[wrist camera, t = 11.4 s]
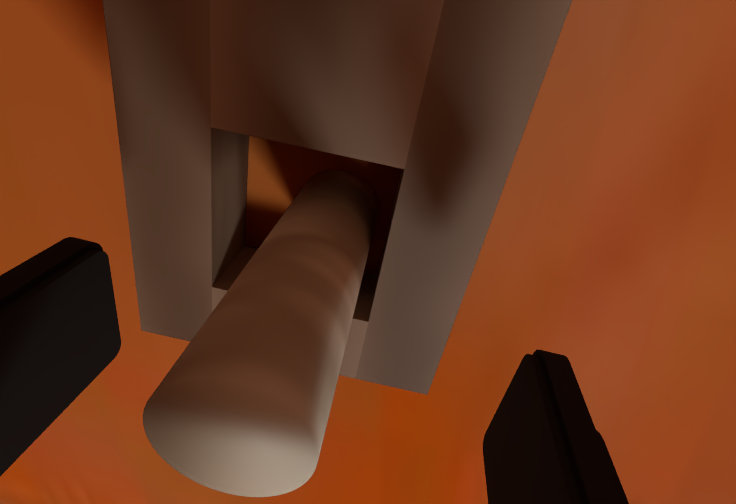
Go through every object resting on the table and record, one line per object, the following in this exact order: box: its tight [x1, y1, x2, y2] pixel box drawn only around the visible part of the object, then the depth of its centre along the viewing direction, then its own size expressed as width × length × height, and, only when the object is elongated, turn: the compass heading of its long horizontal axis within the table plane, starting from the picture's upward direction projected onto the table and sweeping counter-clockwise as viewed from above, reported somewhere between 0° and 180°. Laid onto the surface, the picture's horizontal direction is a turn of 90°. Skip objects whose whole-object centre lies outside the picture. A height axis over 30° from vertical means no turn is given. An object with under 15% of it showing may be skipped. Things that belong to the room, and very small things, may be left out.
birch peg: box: [143, 170, 378, 497], centre depth 11 cm, size 3×3×10 cm
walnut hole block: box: [103, 0, 572, 394], centre depth 12 cm, size 11×21×3 cm, turn 170°
